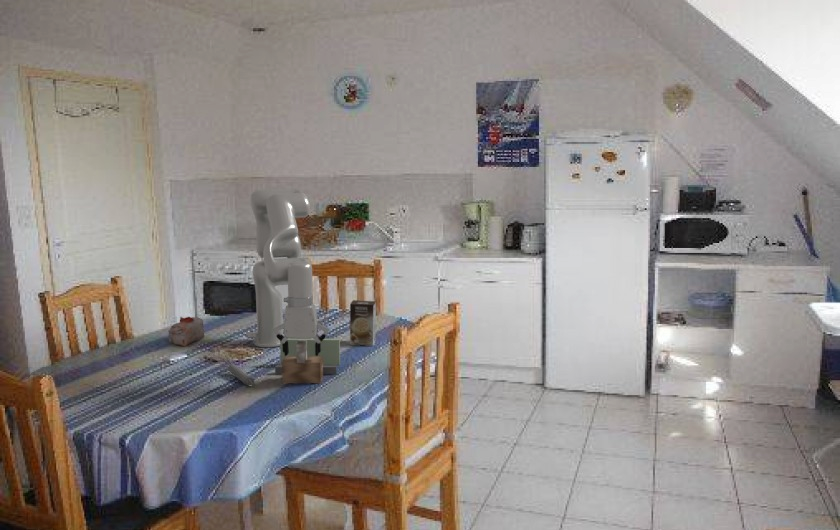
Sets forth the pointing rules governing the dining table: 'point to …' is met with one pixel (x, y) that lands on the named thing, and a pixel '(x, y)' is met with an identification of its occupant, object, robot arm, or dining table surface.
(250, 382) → the kitchen whisk
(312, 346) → the cleat board
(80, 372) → the dining table surface
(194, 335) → the food item
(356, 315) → the coffee box
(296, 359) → the walnut mallet
